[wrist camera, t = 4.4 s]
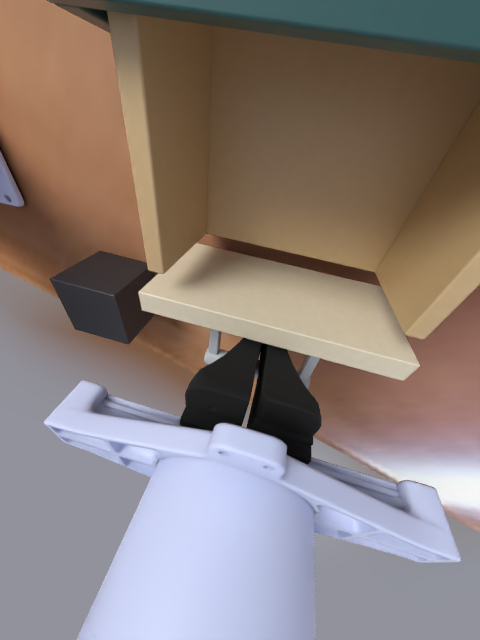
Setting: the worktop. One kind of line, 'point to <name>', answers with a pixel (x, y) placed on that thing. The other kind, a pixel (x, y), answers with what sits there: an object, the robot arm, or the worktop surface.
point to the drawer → (301, 186)
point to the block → (105, 295)
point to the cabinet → (321, 21)
